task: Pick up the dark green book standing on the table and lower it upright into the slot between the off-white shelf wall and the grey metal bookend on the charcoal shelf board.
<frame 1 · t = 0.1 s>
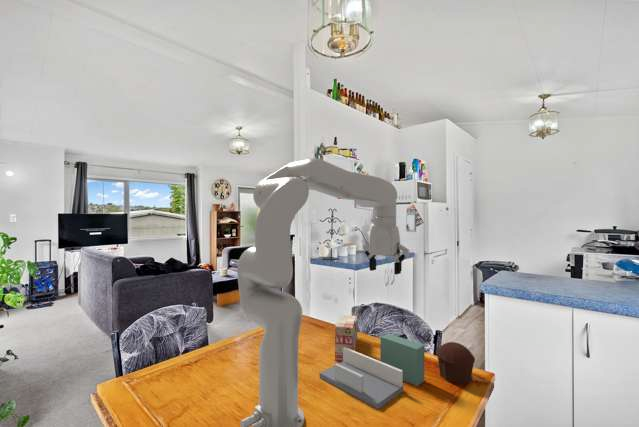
hand: (384, 271, 108), 31 cm above the table, tool pointing down, fingers open, 9 cm apart
shelf: (359, 383, 94), on the table
book: (401, 375, 99), on the table
muffin: (455, 377, 99), on the table
printed carton: (347, 349, 119), on the table
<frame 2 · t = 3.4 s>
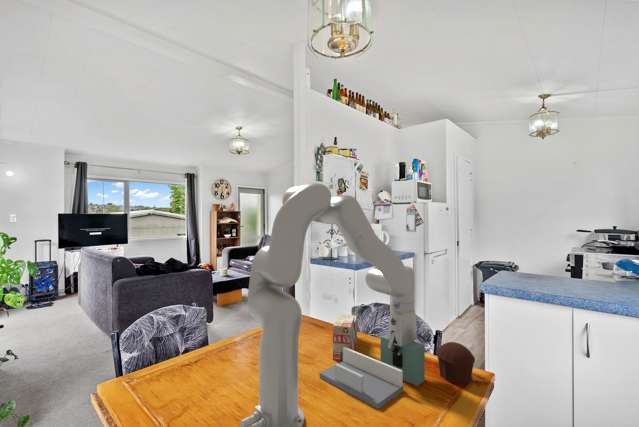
hand: (401, 362, 99), 4 cm above the table, tool pointing down, fingers closed on book, 4 cm apart
book: (401, 375, 99), on the table, touching gripper
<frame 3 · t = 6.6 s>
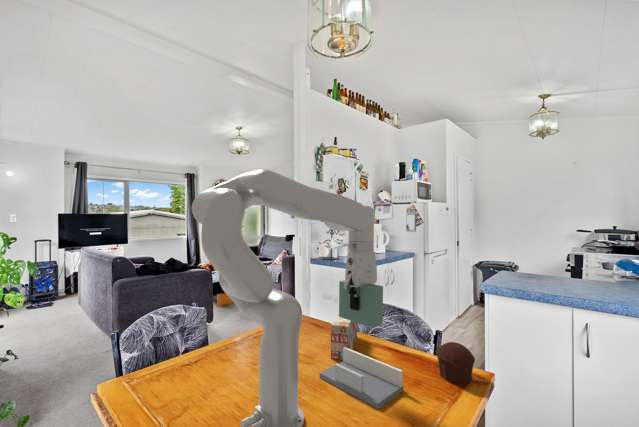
hand: (360, 307, 94), 23 cm above the table, tool pointing down, fingers closed on book, 4 cm apart
book: (360, 320, 94), point 19 cm above the table, touching gripper
when the fingers open (8 cm above the table, at t = 9.9 s): book drops 2 cm, resting on shelf.
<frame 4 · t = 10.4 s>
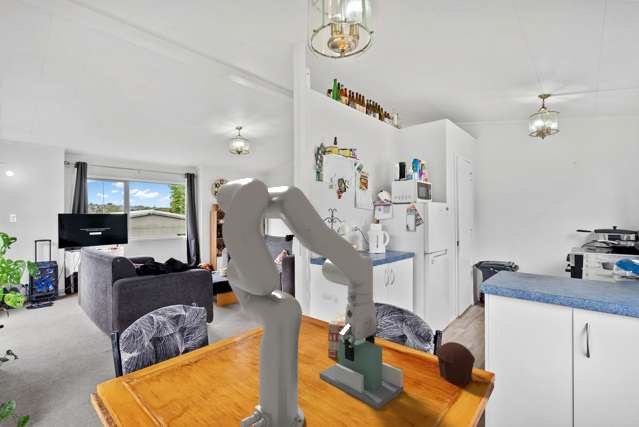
hand: (360, 354, 94), 9 cm above the table, tool pointing down, fingers open, 9 cm apart
book: (359, 379, 94), point 1 cm above the table, touching shelf
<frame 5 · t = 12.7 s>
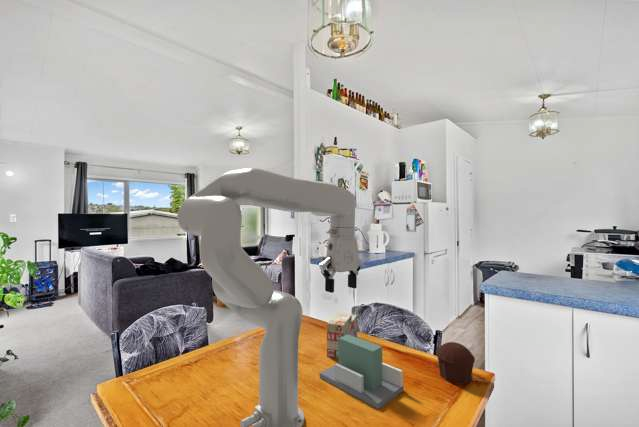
hand: (341, 289, 96), 28 cm above the table, tool pointing down, fingers open, 9 cm apart
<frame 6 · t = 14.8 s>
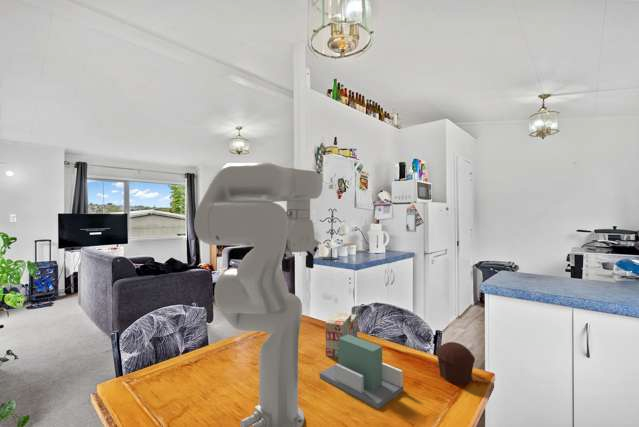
hand: (298, 269, 100), 33 cm above the table, tool pointing down, fingers open, 9 cm apart
at the end: book inside the target area on the shelf (0.1 cm from its centre), point 1.5 cm above the shelf's base; book tilted 0°; the gripper is holding nothing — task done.
